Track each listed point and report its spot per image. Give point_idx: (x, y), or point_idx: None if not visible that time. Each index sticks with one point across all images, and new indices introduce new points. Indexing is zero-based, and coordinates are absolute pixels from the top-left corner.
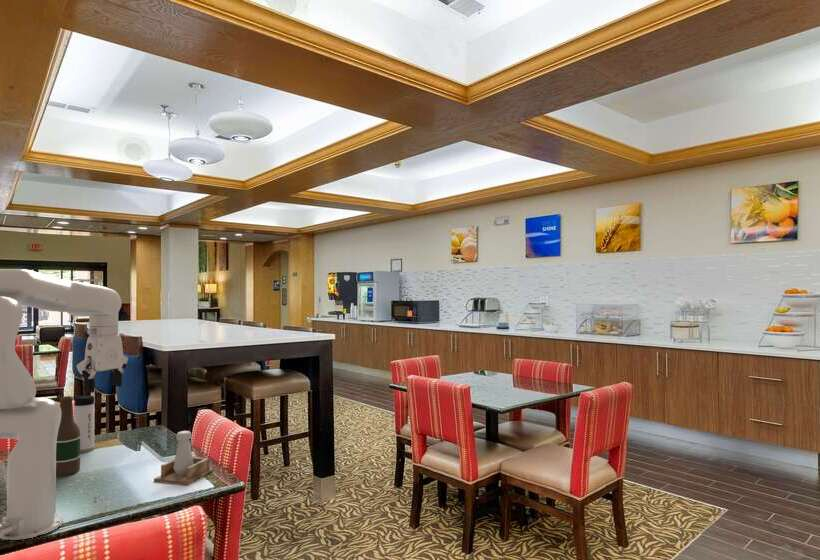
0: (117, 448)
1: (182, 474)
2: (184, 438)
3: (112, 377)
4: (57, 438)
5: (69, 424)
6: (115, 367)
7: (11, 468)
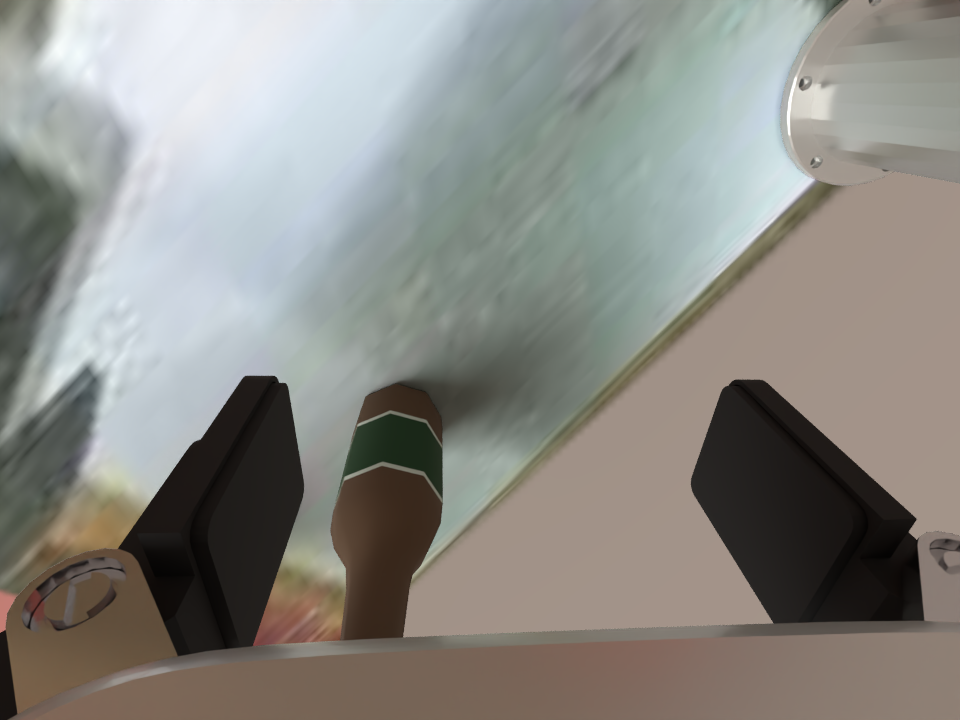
0: (127, 458)
1: None
2: None
3: (265, 588)
4: (437, 507)
5: (390, 537)
6: (427, 665)
7: None
